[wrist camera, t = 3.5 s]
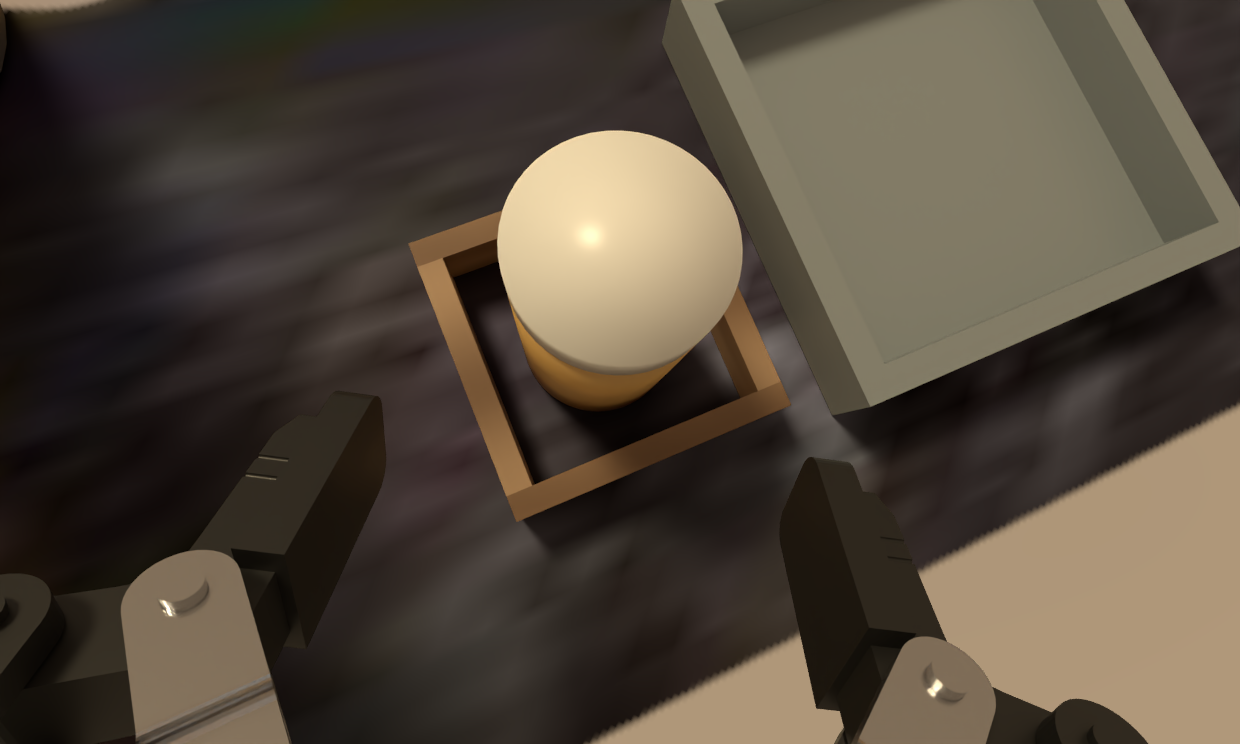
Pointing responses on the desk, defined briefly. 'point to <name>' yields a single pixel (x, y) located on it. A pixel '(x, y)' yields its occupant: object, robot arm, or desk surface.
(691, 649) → the desk surface
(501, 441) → the holder
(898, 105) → the tray
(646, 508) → the desk surface
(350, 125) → the desk surface
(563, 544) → the desk surface
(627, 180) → the pill bottle
